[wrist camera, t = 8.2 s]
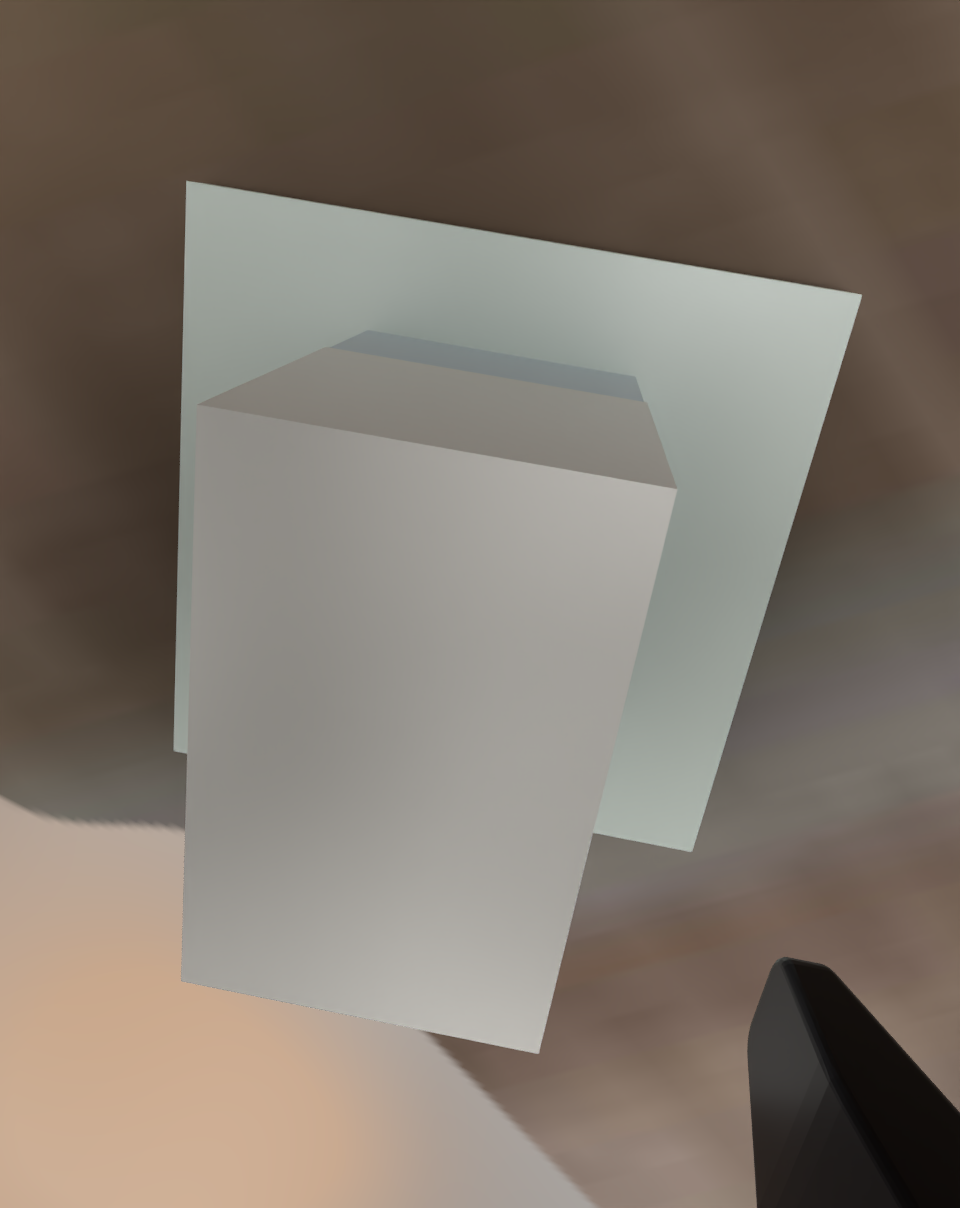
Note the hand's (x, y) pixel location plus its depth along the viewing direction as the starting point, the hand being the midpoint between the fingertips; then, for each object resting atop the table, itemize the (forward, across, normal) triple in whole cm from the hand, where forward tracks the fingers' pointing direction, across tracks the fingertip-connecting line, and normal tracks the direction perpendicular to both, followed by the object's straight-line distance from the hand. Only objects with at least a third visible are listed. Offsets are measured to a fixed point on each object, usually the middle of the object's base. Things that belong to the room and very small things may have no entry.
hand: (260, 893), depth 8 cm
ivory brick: (+8, -1, 0) cm, 8 cm away
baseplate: (+12, -1, +1) cm, 12 cm away
